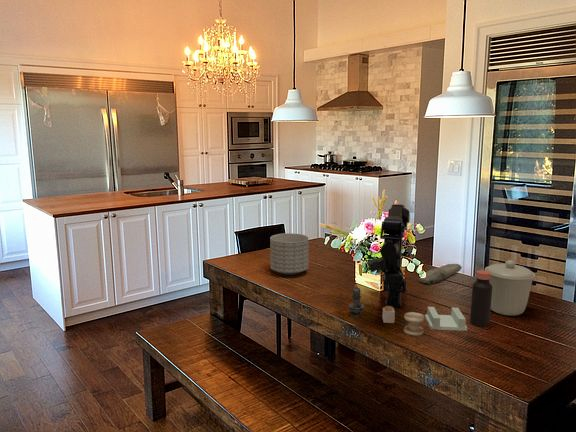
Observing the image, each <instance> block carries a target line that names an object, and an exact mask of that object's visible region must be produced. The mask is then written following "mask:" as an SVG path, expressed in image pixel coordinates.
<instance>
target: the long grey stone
mask: <svg viewBox="0 0 576 432" xmlns="http://www.w3.org/2000/svg"><path fill="white" fill-rule="evenodd" d="M461 270H462V266H461V264H458V263H447V264H445V265H442V266H440V267H438V268H437V267H436V268H433V269H432V268H431V269H429V270H427V271H426V278H420V277H419V282H420V283H421V284H422V283H423V284H429V285H431V284H435V283H436V284H437V283H439V282H443V281H444V280H445V279H447V278H448V277H450V276H453V275H454V274H457V273H458V272H460V271H461Z"/></svg>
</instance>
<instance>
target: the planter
mask: <svg viewBox="0 0 576 432" xmlns="http://www.w3.org/2000/svg"><path fill="white" fill-rule="evenodd" d="M269 239H270V240H269V241H270V242H269V243H270V244H269V246H270V247H269V252H270V253H269V254H270V257H269V261H270V265H269V266H270V269H271V270H273V271H275V272H277V273H279V274H281V275H283V276H284V275H285V276H294V275H295V276H296V275H299V274H300V273H302V272H304V271H306V270H308V269H309V237H308V235H305V234H302V233H294V232H293V233H291V232H289V233H288V232H287V233H285V232H283V233H277V234H274V235H271V236H270V237H269Z"/></svg>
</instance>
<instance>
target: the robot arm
mask: <svg viewBox="0 0 576 432" xmlns="http://www.w3.org/2000/svg"><path fill="white" fill-rule="evenodd" d="M387 213H388V214H387V216H386V217H384V219H383V221H381V228H380V236H379V239H381V240H383V244H382V246H381V247H380V255H381V257H377V258H374V259H373V258H372V259H371V260H368V261H367V265H368V268H369V270H370V272H371V273H374V272H375V271H379V270H380V271H381V272H382V273H383V280H382V281H383V282H382V283H383V292H385V291H386V299H385V300H384V303H385V306H392V307H393V308H395V307H396V308H403V303H402V293H403V294H405V293H406V292H407V281H406V278H405V277H404V272H403V270H402V269H401V263H402V251H403V250H402V249H403V238H405V231H406V229H407V228H408V224H410V220H411V219H410V218H411V217H410V210H409V209H407V208H406V207H405V204H404V205H403V204H397V203H396V204H395V203H394V204H391V207H390V208H389V209H388V212H387Z"/></svg>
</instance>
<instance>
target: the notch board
mask: <svg viewBox="0 0 576 432" xmlns="http://www.w3.org/2000/svg"><path fill="white" fill-rule="evenodd" d="M426 312H427V314H424V319H425V321H426V323H427V324H428V325H427V326H428V327H429V329H430V330H438V331H442V330H443V331H461V332H463V331H465V332H467V331H468V326H467V325H466V318H465V316H464V315H463V313H462V312H461V310H460V308H459V307H451V311H450V313H451V314H439V313H438V312H437V309H436V308H435V306H427V311H426Z"/></svg>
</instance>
